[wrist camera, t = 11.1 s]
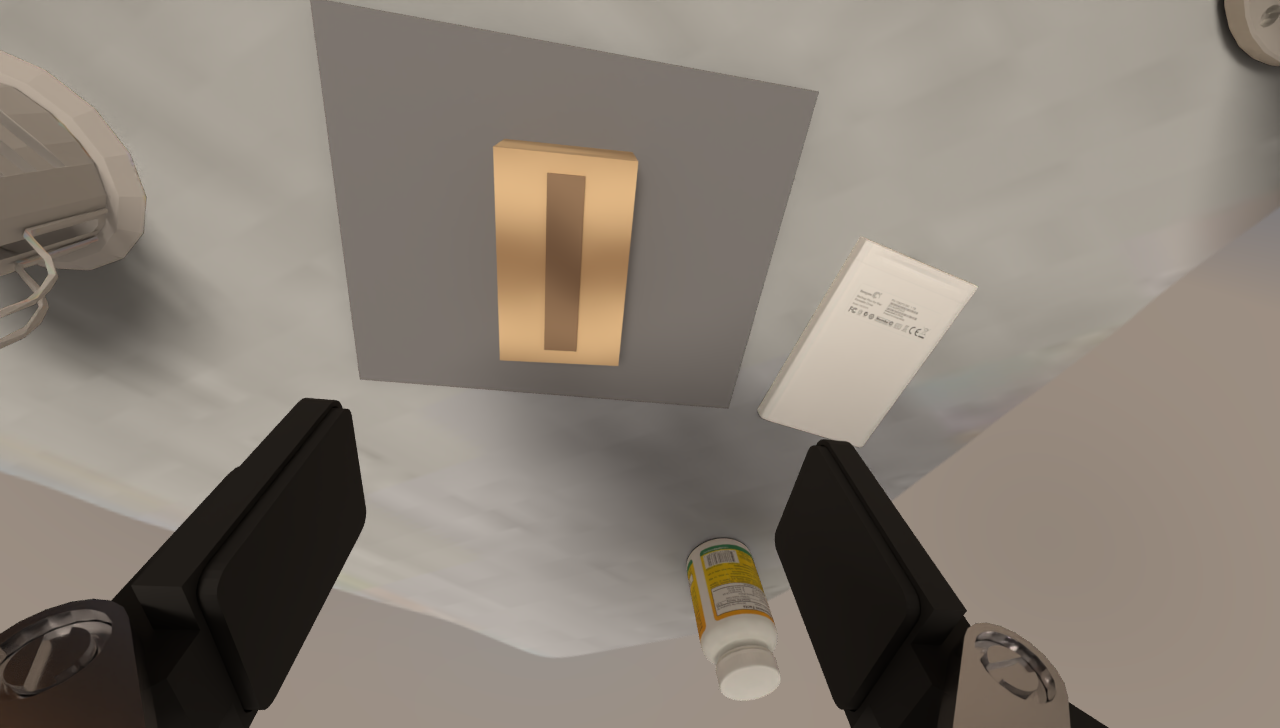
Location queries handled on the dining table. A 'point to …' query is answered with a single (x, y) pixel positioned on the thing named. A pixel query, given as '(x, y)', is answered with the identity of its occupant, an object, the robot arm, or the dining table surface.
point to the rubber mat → (465, 199)
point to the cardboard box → (562, 250)
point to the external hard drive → (864, 344)
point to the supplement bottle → (733, 619)
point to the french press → (59, 185)
